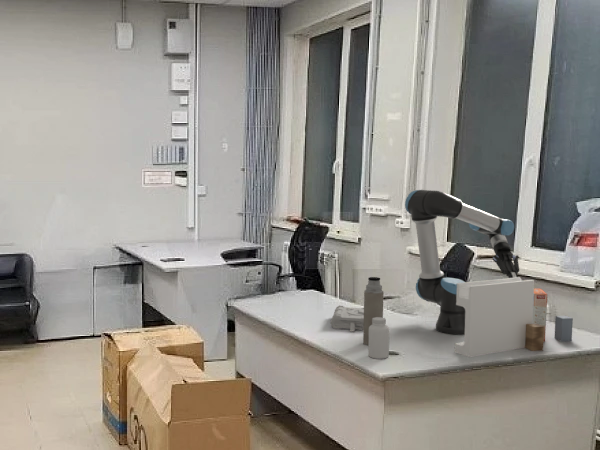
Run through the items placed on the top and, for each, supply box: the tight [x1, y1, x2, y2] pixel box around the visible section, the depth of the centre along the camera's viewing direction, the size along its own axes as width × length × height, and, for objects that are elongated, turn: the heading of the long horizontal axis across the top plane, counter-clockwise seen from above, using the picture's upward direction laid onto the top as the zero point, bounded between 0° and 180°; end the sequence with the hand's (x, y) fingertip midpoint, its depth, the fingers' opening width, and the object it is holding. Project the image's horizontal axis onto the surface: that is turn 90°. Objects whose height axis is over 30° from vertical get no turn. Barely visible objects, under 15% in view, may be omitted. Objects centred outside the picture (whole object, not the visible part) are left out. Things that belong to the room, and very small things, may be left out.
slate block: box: [554, 315, 574, 342], centre depth 267 cm, size 5×5×10 cm
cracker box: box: [532, 287, 548, 342], centre depth 270 cm, size 14×6×21 cm, turn 168°
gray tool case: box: [330, 305, 364, 333], centre depth 288 cm, size 19×28×8 cm
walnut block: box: [525, 324, 544, 352], centre depth 251 cm, size 5×5×10 cm
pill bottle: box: [367, 317, 390, 360], centre depth 238 cm, size 8×8×15 cm
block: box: [454, 276, 535, 358], centre depth 250 cm, size 35×8×28 cm, turn 119°
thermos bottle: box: [362, 276, 385, 347], centre depth 256 cm, size 8×8×28 cm
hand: (516, 285), depth 287 cm, fingers closed
